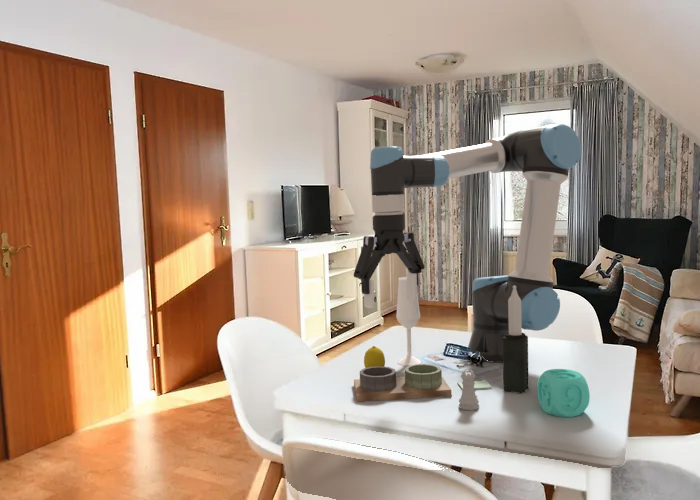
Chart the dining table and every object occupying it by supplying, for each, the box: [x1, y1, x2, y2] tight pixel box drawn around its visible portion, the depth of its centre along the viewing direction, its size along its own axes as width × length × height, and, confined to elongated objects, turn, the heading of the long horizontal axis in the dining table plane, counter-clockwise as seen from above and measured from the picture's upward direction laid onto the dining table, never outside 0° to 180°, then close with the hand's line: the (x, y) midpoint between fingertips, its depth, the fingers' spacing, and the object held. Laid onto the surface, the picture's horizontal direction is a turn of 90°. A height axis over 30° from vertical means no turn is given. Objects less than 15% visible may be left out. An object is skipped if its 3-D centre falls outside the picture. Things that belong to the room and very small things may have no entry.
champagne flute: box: [396, 276, 422, 367], centre depth 167 cm, size 7×7×24 cm
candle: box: [502, 285, 530, 394], centre depth 140 cm, size 5×5×25 cm
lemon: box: [363, 345, 386, 368], centre depth 156 cm, size 6×6×8 cm
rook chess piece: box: [458, 369, 480, 412], centre depth 130 cm, size 4×4×8 cm
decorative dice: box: [536, 368, 590, 418], centre depth 126 cm, size 8×8×8 cm
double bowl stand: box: [353, 363, 453, 402], centre depth 144 cm, size 22×12×5 cm, turn 93°
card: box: [457, 380, 492, 391], centre depth 145 cm, size 7×5×1 cm
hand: (391, 303), depth 140 cm, fingers open, 13 cm apart
